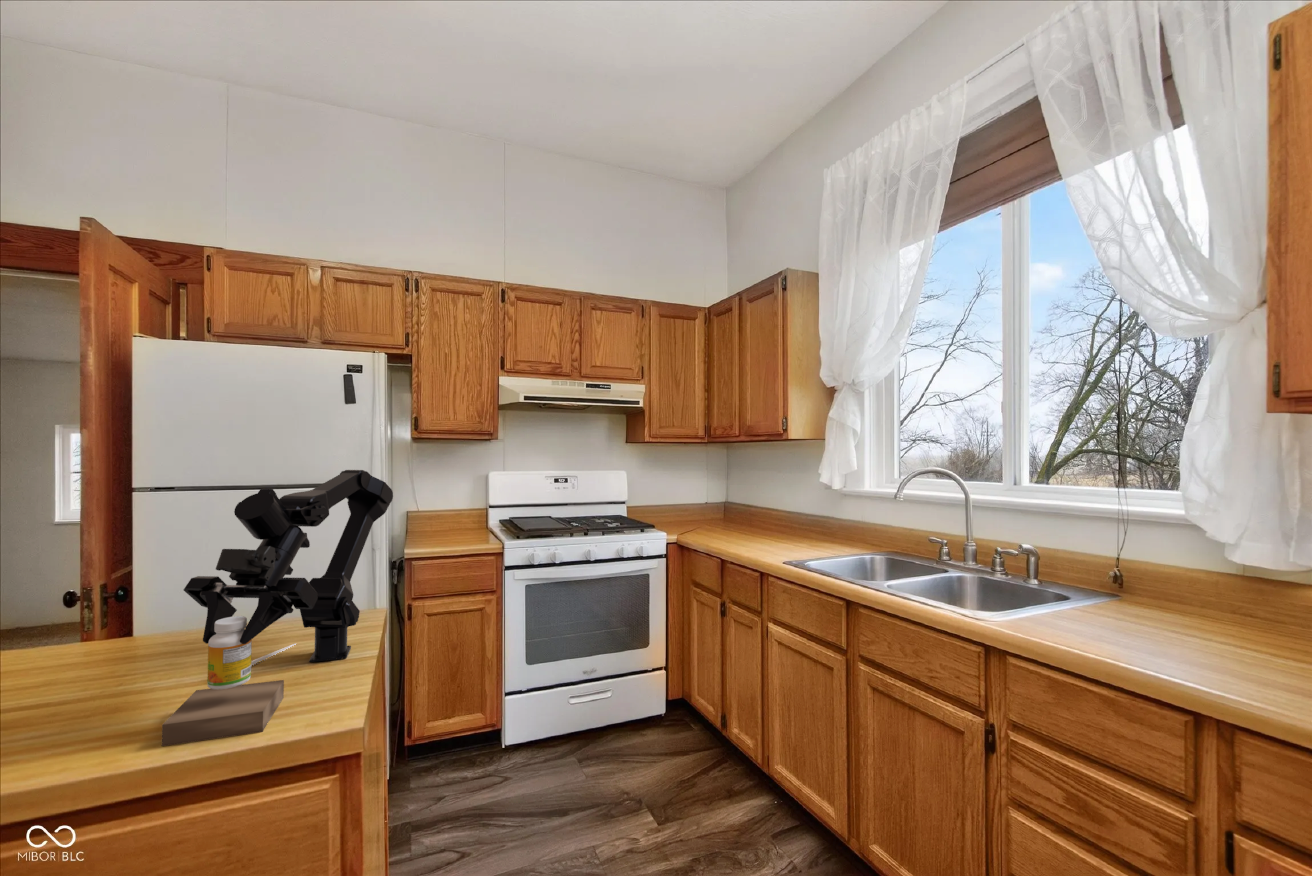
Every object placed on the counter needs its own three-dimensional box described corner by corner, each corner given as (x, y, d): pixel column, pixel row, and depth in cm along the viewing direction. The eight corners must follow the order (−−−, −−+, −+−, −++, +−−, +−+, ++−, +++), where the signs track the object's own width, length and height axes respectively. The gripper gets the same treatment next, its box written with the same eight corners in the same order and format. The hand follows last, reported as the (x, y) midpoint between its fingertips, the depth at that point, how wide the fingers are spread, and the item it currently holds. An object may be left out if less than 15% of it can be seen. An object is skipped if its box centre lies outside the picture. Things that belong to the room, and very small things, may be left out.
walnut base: (195, 708, 90) (196, 689, 90) (283, 697, 95) (283, 679, 95) (161, 746, 79) (162, 724, 79) (262, 731, 83) (263, 711, 83)
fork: (303, 647, 120) (303, 638, 120) (224, 684, 100) (225, 673, 100) (289, 647, 120) (289, 638, 120) (207, 683, 100) (208, 673, 101)
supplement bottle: (204, 682, 87) (206, 619, 87) (247, 672, 91) (248, 612, 91) (210, 693, 83) (211, 627, 83) (254, 683, 87) (255, 620, 87)
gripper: (194, 526, 91) (128, 616, 80) (308, 528, 91) (257, 618, 80) (230, 564, 99) (175, 650, 88) (335, 566, 99) (293, 652, 88)
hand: (223, 642), depth 86 cm, fingers closed on supplement bottle, 5 cm apart
